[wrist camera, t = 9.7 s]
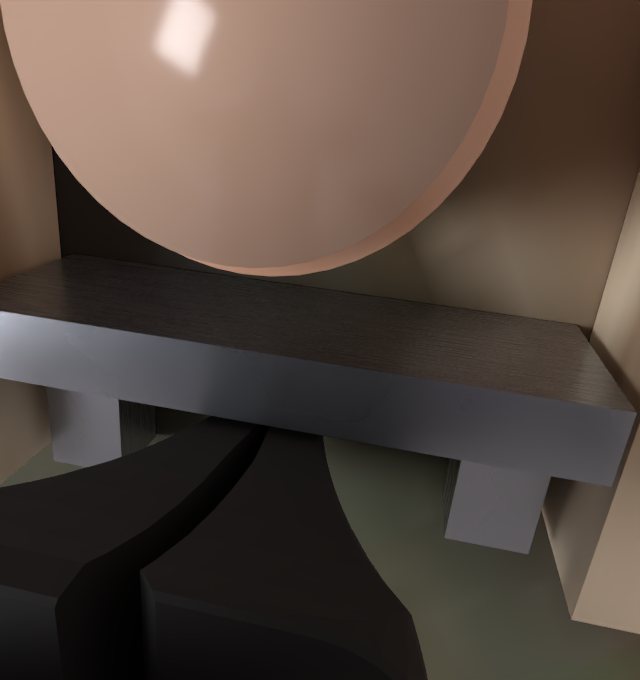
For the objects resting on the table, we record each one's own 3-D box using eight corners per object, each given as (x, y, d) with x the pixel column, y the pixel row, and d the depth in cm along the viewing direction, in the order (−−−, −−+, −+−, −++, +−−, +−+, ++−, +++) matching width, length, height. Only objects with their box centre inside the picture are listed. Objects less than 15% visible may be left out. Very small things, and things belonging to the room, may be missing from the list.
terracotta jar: (465, 235, 10) (473, 327, 6) (187, 198, 11) (9, 252, 7) (535, -134, 8) (631, -434, 4) (187, -143, 9) (-70, -392, 5)
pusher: (527, 504, 12) (558, 639, 9) (87, 422, 14) (-19, 514, 11) (576, 324, 11) (636, 412, 8) (73, 253, 12) (-55, 302, 9)
